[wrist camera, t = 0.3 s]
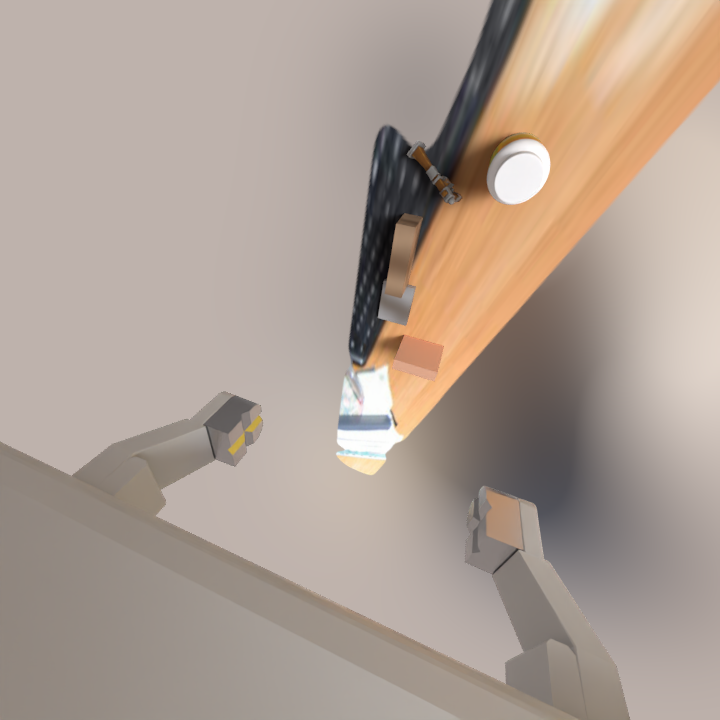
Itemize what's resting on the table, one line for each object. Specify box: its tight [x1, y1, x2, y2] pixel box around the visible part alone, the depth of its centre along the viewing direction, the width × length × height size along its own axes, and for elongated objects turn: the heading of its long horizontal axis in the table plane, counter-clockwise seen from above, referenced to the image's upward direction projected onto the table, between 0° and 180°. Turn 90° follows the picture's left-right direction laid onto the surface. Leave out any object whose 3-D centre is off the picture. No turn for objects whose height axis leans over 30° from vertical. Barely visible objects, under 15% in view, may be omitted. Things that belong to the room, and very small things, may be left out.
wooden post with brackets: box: [407, 141, 462, 204], centre depth 36 cm, size 2×8×4 cm, turn 51°
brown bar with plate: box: [378, 213, 423, 326], centre depth 45 cm, size 17×5×4 cm, turn 175°
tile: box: [392, 335, 444, 381], centre depth 51 cm, size 2×7×7 cm, turn 85°
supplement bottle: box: [487, 133, 550, 205], centre depth 30 cm, size 5×5×10 cm
